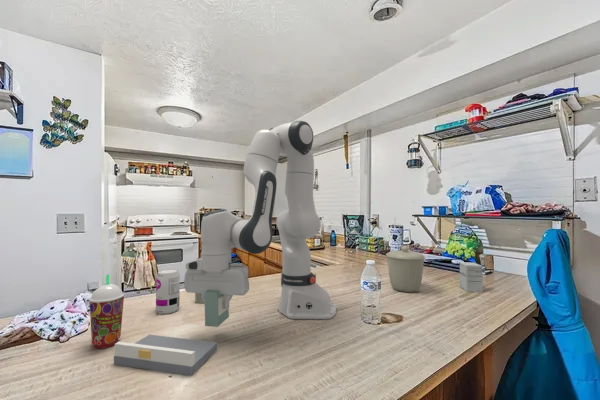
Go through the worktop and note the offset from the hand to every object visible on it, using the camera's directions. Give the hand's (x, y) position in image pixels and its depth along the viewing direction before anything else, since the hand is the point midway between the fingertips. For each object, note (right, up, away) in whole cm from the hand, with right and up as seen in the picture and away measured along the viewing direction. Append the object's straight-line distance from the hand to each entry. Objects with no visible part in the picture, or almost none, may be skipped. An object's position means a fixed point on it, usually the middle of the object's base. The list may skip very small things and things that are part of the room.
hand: (217, 307), depth 83 cm
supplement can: (-25, -10, +21) cm, 34 cm away
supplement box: (+108, -11, +49) cm, 119 cm away
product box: (0, -4, 0) cm, 4 cm away
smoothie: (-31, -9, -4) cm, 33 cm away
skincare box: (-15, -10, +31) cm, 36 cm away
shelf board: (-10, -9, -11) cm, 17 cm away
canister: (+77, -11, +49) cm, 92 cm away
